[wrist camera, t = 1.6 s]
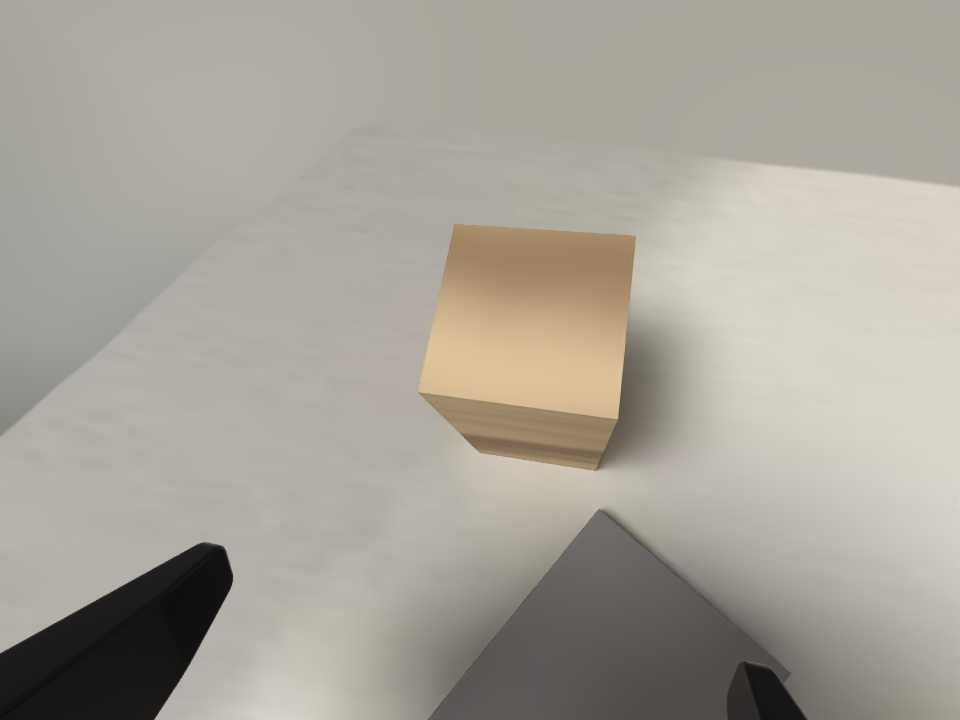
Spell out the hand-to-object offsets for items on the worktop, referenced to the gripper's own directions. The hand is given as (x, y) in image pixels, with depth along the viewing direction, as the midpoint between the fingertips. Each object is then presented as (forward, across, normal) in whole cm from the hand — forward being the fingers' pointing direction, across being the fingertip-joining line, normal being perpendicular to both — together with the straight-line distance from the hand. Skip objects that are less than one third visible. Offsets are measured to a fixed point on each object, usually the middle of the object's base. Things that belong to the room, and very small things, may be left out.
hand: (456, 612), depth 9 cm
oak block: (+14, 0, +4) cm, 15 cm away
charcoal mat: (+6, -3, +12) cm, 14 cm away
